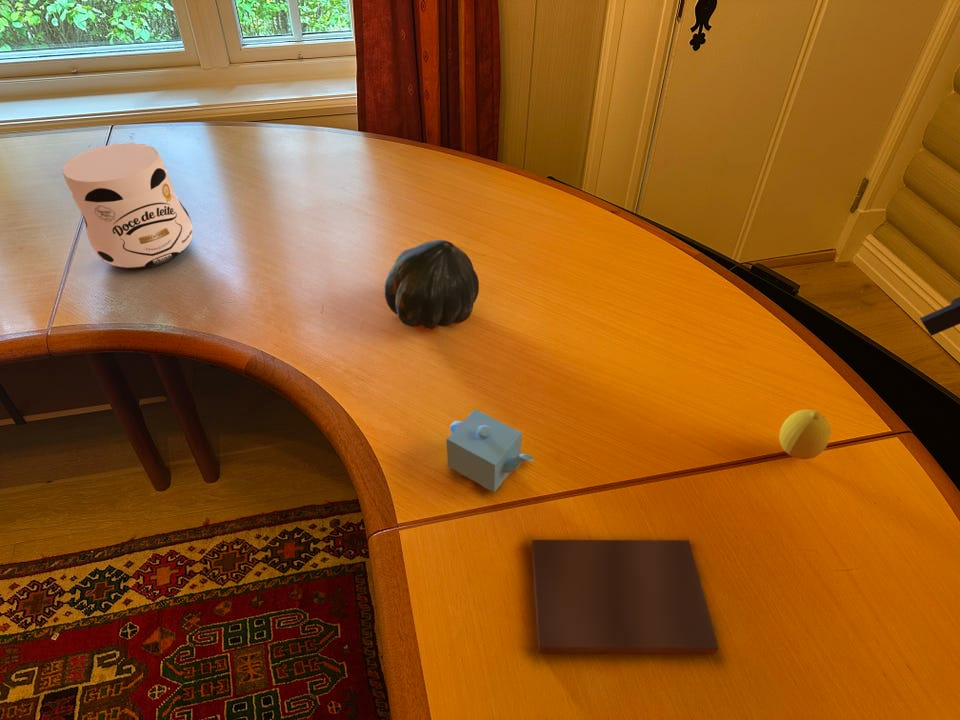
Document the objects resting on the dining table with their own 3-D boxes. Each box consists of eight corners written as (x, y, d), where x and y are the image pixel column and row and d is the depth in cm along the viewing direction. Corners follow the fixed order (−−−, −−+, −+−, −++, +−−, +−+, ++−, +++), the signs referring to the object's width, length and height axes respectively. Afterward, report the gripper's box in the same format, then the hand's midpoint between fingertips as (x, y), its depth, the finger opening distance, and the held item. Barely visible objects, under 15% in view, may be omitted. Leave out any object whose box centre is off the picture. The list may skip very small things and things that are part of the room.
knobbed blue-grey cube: (542, 476, 78) (546, 438, 72) (517, 510, 74) (519, 473, 69) (465, 435, 83) (464, 397, 77) (438, 465, 79) (436, 427, 74)
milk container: (167, 282, 108) (127, 189, 96) (80, 272, 111) (30, 180, 98) (214, 231, 121) (184, 144, 108) (136, 223, 123) (97, 136, 111)
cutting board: (686, 546, 70) (689, 540, 69) (715, 653, 62) (719, 648, 61) (531, 546, 70) (532, 539, 69) (538, 653, 62) (539, 647, 61)
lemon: (784, 431, 83) (806, 391, 78) (823, 456, 80) (849, 416, 74) (763, 452, 80) (783, 412, 75) (802, 478, 77) (826, 438, 72)
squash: (364, 272, 101) (387, 240, 88) (441, 248, 108) (473, 215, 94) (397, 350, 101) (424, 330, 87) (472, 321, 107) (509, 299, 94)
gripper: (1337, 382, 48) (1017, 474, 60) (1134, 221, 66) (919, 316, 78) (1325, 325, 45) (990, 434, 57) (1116, 172, 63) (895, 279, 75)
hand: (949, 366), depth 67 cm, fingers open, 13 cm apart
